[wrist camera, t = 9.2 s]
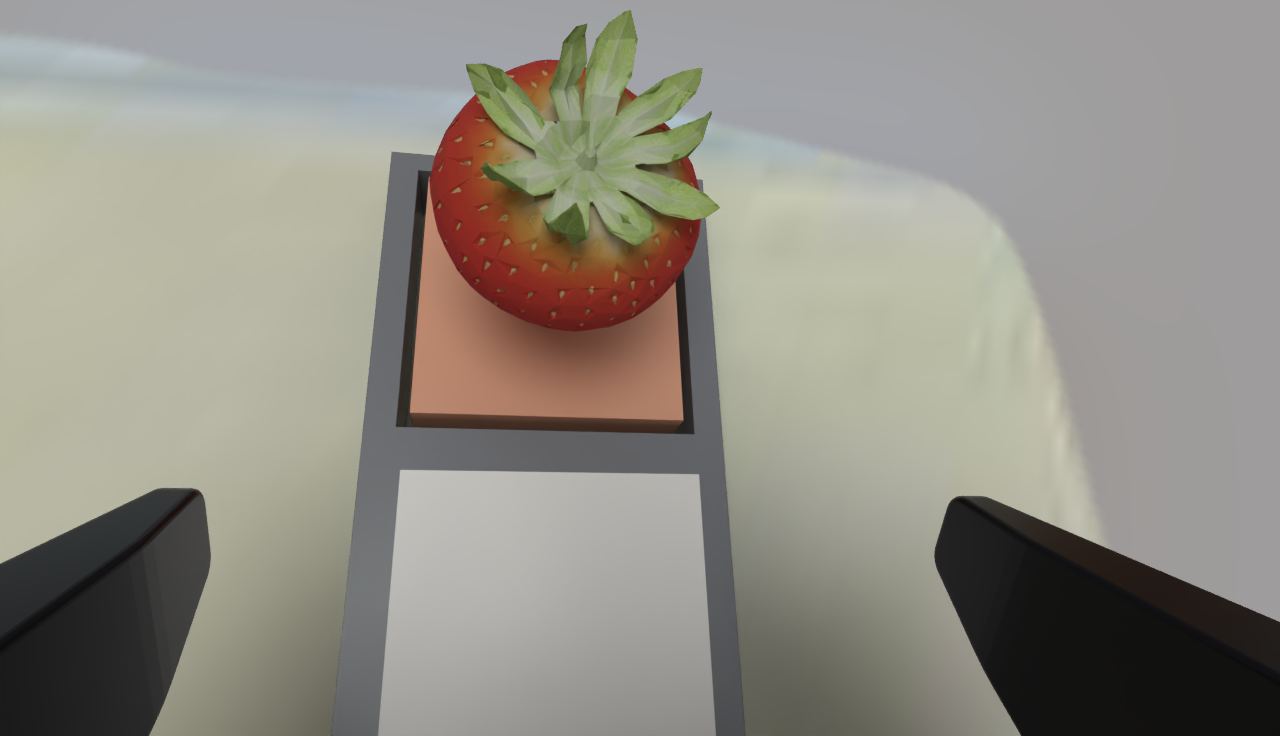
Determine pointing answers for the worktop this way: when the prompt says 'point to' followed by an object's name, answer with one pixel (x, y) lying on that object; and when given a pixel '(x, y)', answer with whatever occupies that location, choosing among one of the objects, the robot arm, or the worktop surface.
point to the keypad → (535, 551)
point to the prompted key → (537, 363)
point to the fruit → (571, 185)
